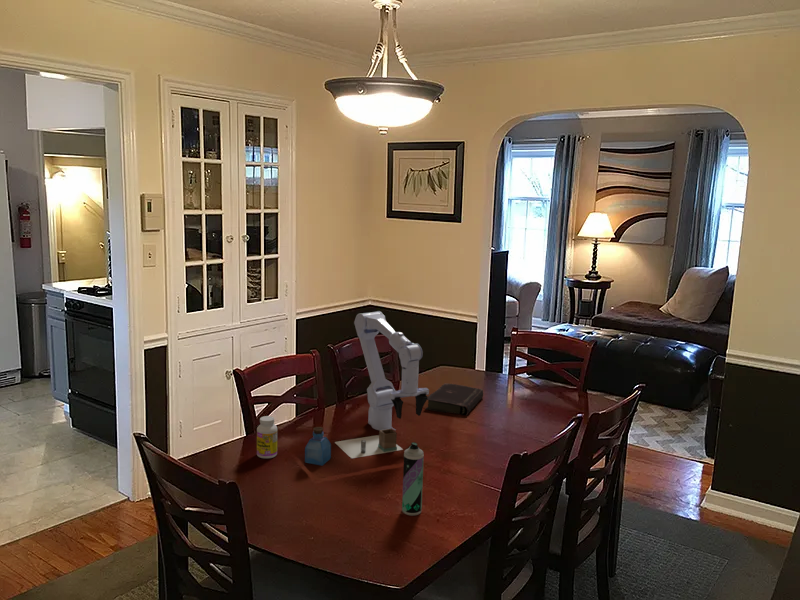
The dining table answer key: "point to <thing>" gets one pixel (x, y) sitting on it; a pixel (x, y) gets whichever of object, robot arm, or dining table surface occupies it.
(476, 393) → the diary
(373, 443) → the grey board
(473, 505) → the dining table surface
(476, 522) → the dining table surface
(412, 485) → the spray can
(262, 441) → the supplement bottle
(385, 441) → the walnut sleeve
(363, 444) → the steel pin
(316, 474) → the dining table surface
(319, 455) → the perfume bottle
